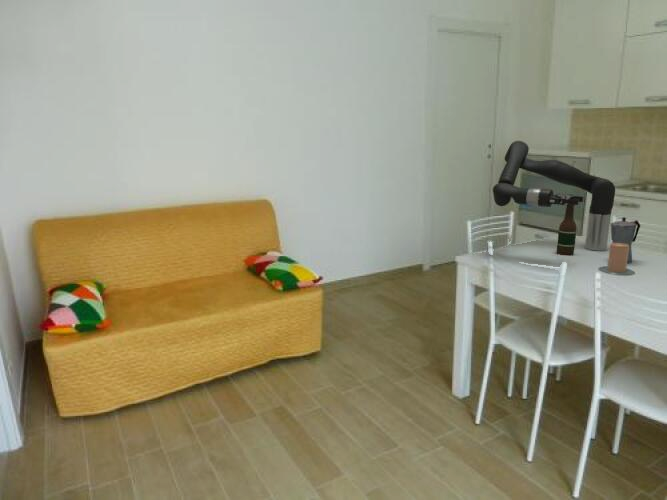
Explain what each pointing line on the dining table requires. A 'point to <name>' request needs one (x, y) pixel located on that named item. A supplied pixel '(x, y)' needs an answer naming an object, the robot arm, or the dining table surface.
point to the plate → (627, 273)
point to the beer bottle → (567, 233)
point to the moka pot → (625, 234)
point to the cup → (618, 257)
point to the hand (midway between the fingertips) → (580, 200)
